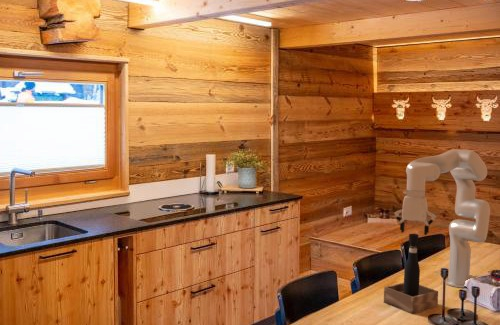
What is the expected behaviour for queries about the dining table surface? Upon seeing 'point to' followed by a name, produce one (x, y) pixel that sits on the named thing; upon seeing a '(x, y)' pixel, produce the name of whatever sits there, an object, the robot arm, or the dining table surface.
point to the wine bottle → (412, 269)
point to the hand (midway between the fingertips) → (414, 233)
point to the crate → (410, 298)
